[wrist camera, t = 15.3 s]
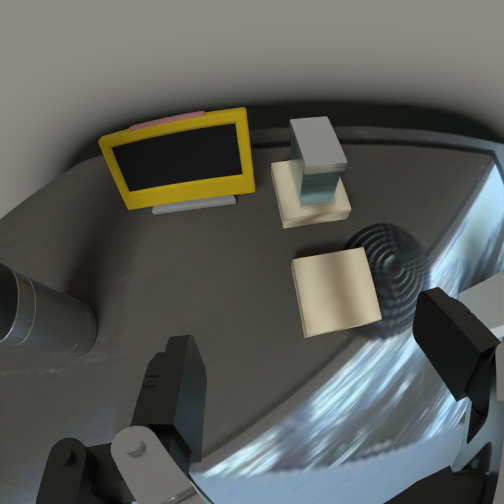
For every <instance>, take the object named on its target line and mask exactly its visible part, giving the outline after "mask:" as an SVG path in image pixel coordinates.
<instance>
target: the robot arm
mask: <svg viewBox="0 0 504 504" xmlns="http://www.w3.org/2000/svg"><path fill="white" fill-rule="evenodd" d="M412 329H413V336H414V339H415V341H416V342H417V344H418V345H419V346H420V348H421V349H422V351H423V352H424V353H425V355H426V356H427V358H428V359H429V361H430V362H431V364H432V365H433V366H434V368H435V369H436V371H437V372H438V374H439V375H440V377H441V378H442V380H443V381H444V383H445V384H446V386H447V387H448V389H449V391H450V392H451V394H452V395H453V397H454V398H455V400H456V402H457V401H459V400H461V399H463V398H465V397H467V396H468V397H469V399H470V401H469V402H468V405H467V411H466V419H465V426H464V432H463V437H462V443H461V448H460V451H459V453H458V455H457V457H456V459H455V461H454V463H453V465H452V468H451V467H450V465H449V466H448V467H446V468H444V469H442V470H440V471H438V472H436V473H434V474H432V475H430V476H428V477H426V478H423V479H421V480H419V481H417V482H415V483H414V484H413V485H411V486H410V487H408V488H407V489H405V490H404V491H403V492H401V493H400V494H398V495H397V496H395V497H393V498H392V499H390V500H389V501H387V502H386V503H384V504H504V342H502V343H501V342H500V341H499V339H498V338H497V337H496V336H495V335H494V334H493V333H492V332H491V331H490V330H489V329H488V328H487V327H486V326H485V325H484V324H483V323H482V322H481V321H480V320H479V319H477V317H476V316H475V315H474V314H473V313H471V311H470V310H469V309H468V308H467V307H466V306H465V305H464V304H463V303H462V302H460V301H458V300H456V299H454V298H452V297H449V296H448V295H447V294H446V293H445V292H444V291H443V290H442V289H441V288H439V287H436V288H433V289H429V290H426V291H422V292H420V293H419V295H418V299H417V305H416V311H415V316H414V321H413V328H412ZM96 333H97V323H96V318H95V315H94V313H93V310H92V309H91V308H90V306H89V305H87V304H86V303H85V302H82V301H80V300H78V299H75V298H73V297H71V296H69V295H66V294H64V293H62V292H59V291H57V290H55V289H53V288H50V287H48V286H46V285H44V284H42V283H40V282H37V281H35V280H33V279H31V278H29V277H27V276H25V275H23V274H21V273H19V272H17V271H15V270H13V269H11V268H9V267H7V266H5V265H3V264H1V263H0V343H3V344H8V345H12V346H18V347H23V348H28V349H34V350H39V351H45V352H51V353H58V354H64V355H72V356H80V355H83V354H85V353H86V352H87V351H88V350H89V349H90V348H91V347H92V345H93V343H94V341H95V338H96ZM206 385H207V377H206V370H205V367H204V364H203V361H202V358H201V356H200V353H199V350H198V348H197V345H196V342H195V339H194V337H193V336H192V335H183V336H173V337H170V338H169V340H168V343H167V346H166V350H165V352H161V353H157V354H156V355H155V356H154V357H153V359H152V360H151V361H150V362H149V364H148V367H147V370H146V373H145V378H144V380H143V383H142V388H141V390H140V393H139V397H138V400H137V404H136V407H135V411H134V414H133V418H132V422H131V425H130V427H128V428H126V429H124V430H122V431H120V432H119V433H118V434H117V435H116V436H115V438H114V439H113V441H112V443H108V444H102V445H97V446H91V447H86V446H84V445H83V444H82V443H81V442H80V441H79V440H77V439H75V438H65V439H62V440H60V441H58V442H57V443H56V444H55V445H54V446H53V447H52V449H51V451H50V453H49V457H48V460H47V463H46V466H45V470H44V473H43V477H42V480H41V484H40V488H39V492H38V496H37V500H36V504H132V502H134V501H137V503H138V504H215V503H214V502H213V501H212V500H211V499H210V498H209V497H208V495H207V494H206V493H205V492H204V491H203V490H202V489H201V487H200V486H199V485H198V484H197V483H196V482H195V480H194V479H193V478H192V477H191V475H190V474H189V467H190V462H201V452H202V437H203V423H204V410H205V397H206Z"/></svg>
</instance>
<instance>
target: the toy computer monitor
mask: <svg viewBox="0 0 504 504" xmlns="http://www.w3.org/2000/svg"><path fill="white" fill-rule="evenodd" d="M98 143H99V145H100V148H101V150H102V153H103V155H104V157H105V160H106V162H107V164H108V167H109V169H110V171H111V174H112V176H113V178H114V180H115V183H116V185H117V187H118V189H119V191H120V194H121V196H122V198H123V200H124V202H125V204H126V206H127V208H128V210H133V209H139V208H144V207H150V206H153V209H152V212H153V214H154V215H156V214H163V213H169V212H176V211H183V210H191V209H198V208H206V207H213V206H222V205H230V204H236V199H235V196H234V195H236V194H245V193H254V192H255V182H254V173H253V164H252V156H251V147H250V139H249V130H248V123H247V114H246V108H235V109H227V110H220V111H213V112H207V113H205V112H204V111H198V112H193V113H188V114H182V115H177V116H172V117H167V118H163V119H158V120H154V121H149V122H145V123H141V124H137V125H134V126H131V127H130V128H129V129H127V130H123V131H120V132H116V133H113V134H109V135H106V136H103V137H102V138H101V139H100V140H99V141H98Z"/></svg>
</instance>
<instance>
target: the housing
mask: <svg viewBox="0 0 504 504" xmlns="http://www.w3.org/2000/svg"><path fill="white" fill-rule="evenodd" d="M290 130H291V145H290V161H288V168H289V172H290V175H291V179H292V183H293V186H294V190H295V194H296V197H297V201H298V205H299V209H300V211H303V210H310V209H316V208H323V207H330V206H334V204H335V198H334V194H335V191H336V187H337V184H338V181H339V178H340V174H341V171H343V170H346V167H347V163H348V162H347V159H346V157H345V155H344V152H343V150H342V148H341V145H340V143H339V141H338V139H337V137H336V134H335V132H334V130H333V128H332V126H331V124H330V121H329V119H328V117H315V118H302V119H292V120H290Z"/></svg>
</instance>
